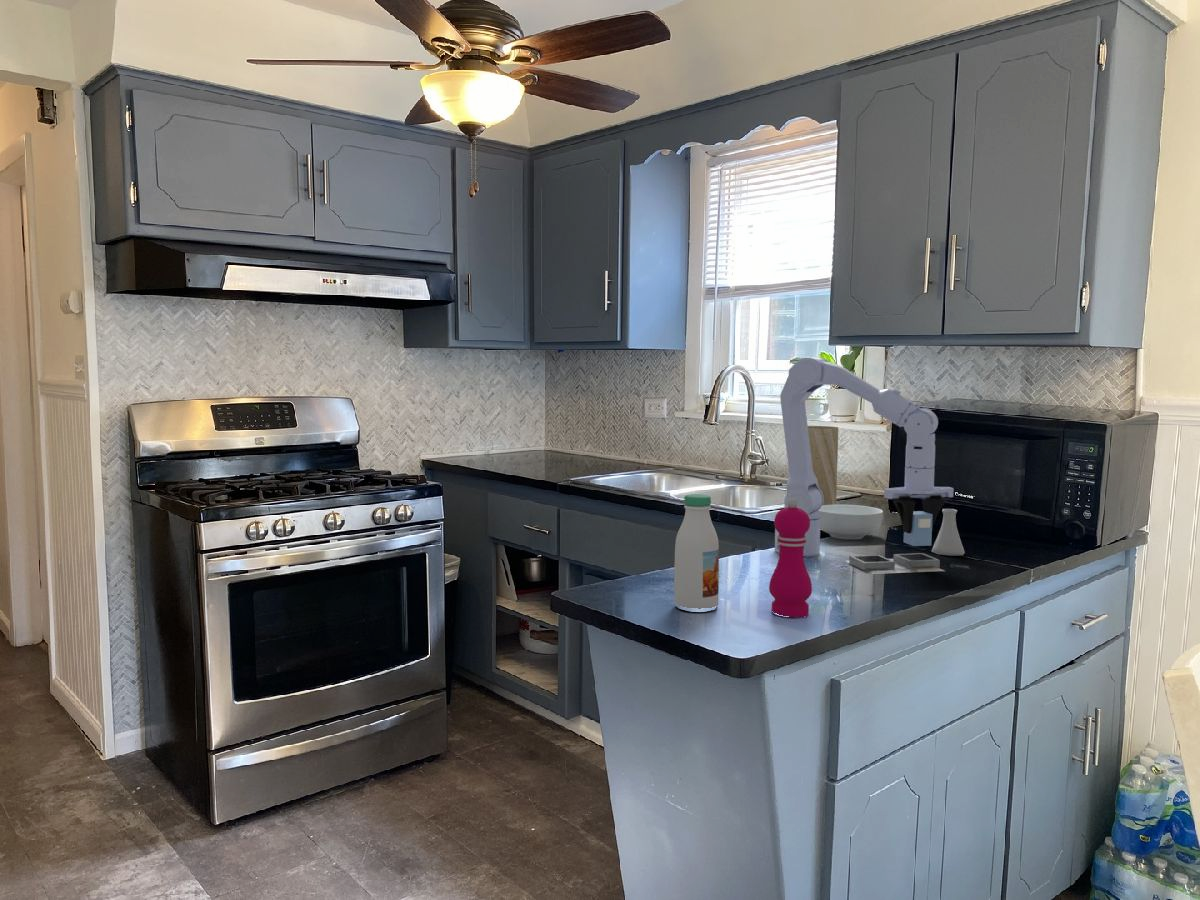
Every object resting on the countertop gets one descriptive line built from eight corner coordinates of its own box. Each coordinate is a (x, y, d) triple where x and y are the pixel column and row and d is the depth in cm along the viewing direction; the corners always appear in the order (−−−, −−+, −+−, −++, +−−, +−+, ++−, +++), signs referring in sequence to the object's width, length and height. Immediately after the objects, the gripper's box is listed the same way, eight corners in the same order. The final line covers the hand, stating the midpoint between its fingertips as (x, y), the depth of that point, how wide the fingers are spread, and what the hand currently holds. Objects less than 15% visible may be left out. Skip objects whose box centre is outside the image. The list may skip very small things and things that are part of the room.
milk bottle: (687, 616, 152) (689, 499, 150) (666, 604, 159) (667, 493, 157) (726, 611, 155) (728, 497, 153) (704, 600, 162) (705, 491, 160)
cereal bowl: (896, 538, 219) (897, 510, 218) (851, 546, 209) (852, 516, 209) (842, 527, 233) (843, 501, 232) (797, 534, 223) (798, 506, 223)
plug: (915, 546, 182) (916, 515, 182) (903, 542, 187) (904, 511, 186) (933, 546, 183) (934, 514, 182) (921, 541, 188) (922, 511, 187)
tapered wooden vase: (791, 515, 251) (794, 427, 249) (815, 511, 257) (817, 425, 255) (820, 520, 243) (822, 429, 241) (843, 516, 249) (846, 427, 247)
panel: (869, 578, 178) (870, 566, 178) (843, 565, 190) (843, 553, 189) (946, 575, 181) (947, 562, 180) (915, 562, 192) (916, 550, 192)
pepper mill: (803, 621, 148) (806, 503, 146) (762, 615, 152) (764, 499, 150) (817, 611, 154) (820, 497, 152) (777, 605, 158) (779, 494, 156)
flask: (968, 557, 198) (970, 513, 197) (933, 556, 199) (935, 511, 198) (961, 550, 205) (963, 507, 204) (928, 549, 206) (930, 506, 205)
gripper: (896, 470, 179) (894, 536, 180) (962, 468, 181) (960, 534, 183) (879, 466, 186) (877, 530, 187) (943, 464, 188) (941, 528, 189)
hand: (917, 532), depth 185 cm, fingers closed on plug, 4 cm apart
